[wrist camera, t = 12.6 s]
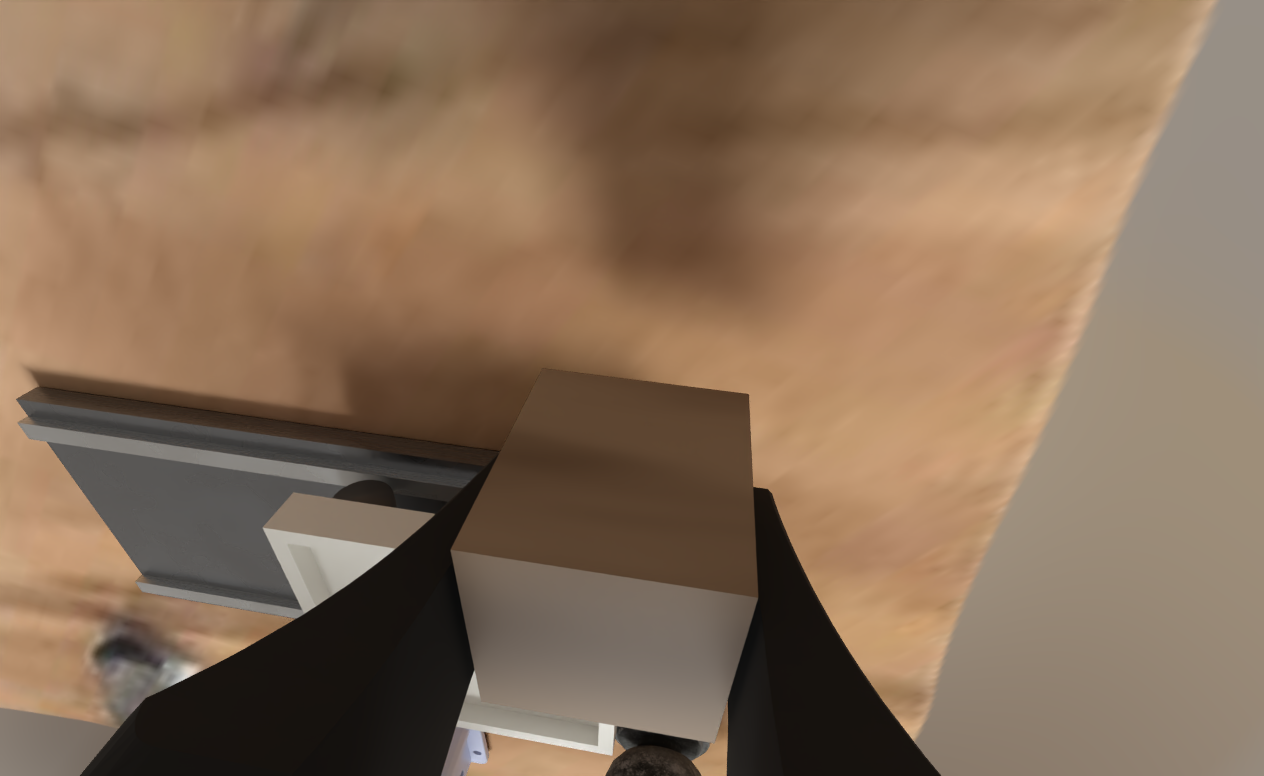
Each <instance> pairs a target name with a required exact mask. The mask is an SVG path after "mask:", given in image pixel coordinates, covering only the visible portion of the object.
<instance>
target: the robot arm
mask: <svg viewBox="0 0 1264 776" xmlns="http://www.w3.org/2000/svg"><path fill="white" fill-rule="evenodd" d="M499 453H500V452H499ZM499 453H498V454H497V455H495V456H494V457H493V458H492V459H491V460H490V461H489V462H488V463H487V464H486V465H485V466H484V468H483V469H482V470H481V471H480V472H479V473H478V474H477V475H476V476H475V477H474V478H473V479H472V480H471V481H470V482H469V483H468V484H467V485H466V486H465V487H464V488H463V489H462V490H460V491H459V492H458V493H457V494H456V495H455V496H454V497H453V498H452V499H451V500H450V501H449V502H448V503H447V504H446V505H445V506H444V507H443V508H441V509H440V510H439V511H438V512H437V513H436V514H435V515H434V516H433V517H432V518H431V519H430V520H428V521H427V522H426V523H425V524H424V525H423V526H422V527H420V528H419V529H418V530H417V531H416V532H415V533H413V534H412V535H411V536H410V537H409V538H407V539H406V540H405V541H404V542H403V543H402V544H400V545H399V546H398V547H397V548H396V549H394V550H393V551H392V552H391V553H390V554H388V555H387V556H386V557H384V558H383V559H382V560H381V561H379V562H378V563H377V564H375V565H374V566H373V567H371V568H370V569H369V570H367V571H366V572H365V573H363V574H362V575H361V576H359V577H358V578H356V579H355V580H354V581H352V582H351V583H350V584H348V585H347V586H345V587H344V588H342V589H341V590H339V591H338V592H336V593H335V594H333V595H332V596H330V597H329V598H327V599H326V600H324V601H323V602H322V603H320V604H319V605H317V606H316V607H314V608H312V609H311V610H309V611H308V612H306V613H305V614H303V615H301V616H300V617H298V618H297V619H295V620H293V621H292V622H290V623H288V624H287V625H285V626H283V627H281V628H280V629H278V630H276V631H274V632H273V633H271V634H269V635H268V636H266V637H264V638H262V639H261V640H259V641H257V642H255V643H254V644H252V645H250V646H248V647H247V648H245V649H243V650H241V651H240V652H238V653H236V654H234V655H232V656H230V657H228V658H227V659H225V660H223V661H221V662H219V663H217V664H215V665H213V666H211V667H209V668H207V669H205V670H203V671H201V672H199V673H197V674H195V675H193V676H191V677H189V678H187V679H185V680H183V681H181V682H179V683H177V684H175V685H173V686H170V687H168V688H166V689H164V690H162V691H160V692H158V693H156V694H154V695H152V696H150V697H147V698H145V700H144V701H143V702H142V703H141V704H140V705H139V706H138V707H137V708H136V709H135V711H134V712H133V713H132V714H131V715H130V716H129V717H128V718H127V719H126V721H125V722H124V723H123V724H122V725H121V726H120V728H119V729H118V730H117V731H116V733H115V734H114V735H113V736H112V737H111V739H110V740H109V741H108V742H107V744H106V745H105V746H104V747H103V748H102V749H101V751H100V752H99V753H98V754H97V756H96V757H95V758H94V759H93V760H92V762H91V763H90V764H89V765H88V766H87V768H86V769H85V770H84V771H83V772H82V774H81V775H80V776H466V774H467V771H468V768H469V765H470V763H471V762H475V763H481V764H484V763H486V762H487V761H488V758H489V753H488V748H487V743H486V738H485V734H484V732H482V731H477V730H472V729H466V728H461V727H456V725H457V722H458V719H459V716H460V712H461V709H462V706H463V703H464V700H465V697H466V694H467V691H468V688H469V684H470V681H471V678H472V676H473V673H474V670H475V669H474V664H473V659H472V654H471V649H470V644H469V639H468V634H467V629H466V624H465V619H464V614H463V609H462V604H461V599H460V595H459V590H458V585H457V580H456V575H455V570H454V565H453V560H452V555H451V548H452V546H453V544H454V542H455V540H456V538H457V536H458V534H459V532H460V530H461V528H462V526H463V524H464V522H465V520H466V518H467V516H468V514H469V512H470V510H471V508H472V506H473V504H474V502H475V501H476V499H477V497H478V495H479V493H480V491H481V489H482V487H483V485H484V483H485V481H486V479H487V477H488V475H489V473H490V471H491V469H492V467H493V465H494V463H495V461H496V459H497V457H498V455H499ZM753 495H754V517H755V538H756V559H757V581H758V600H757V604H756V607H755V610H754V614H753V617H752V620H751V624H750V627H749V630H748V634H747V637H746V640H745V643H744V647H743V650H742V653H741V657H740V660H739V663H738V667H737V670H736V673H735V677H734V680H733V683H732V686H731V690H730V693H729V696H728V752H727V776H941V775H940V774H939V772H938V771H937V770H936V769H935V768H934V766H933V765H932V764H931V763H930V762H929V760H928V759H927V758H926V757H925V756H924V754H923V753H922V752H921V750H920V749H919V748H918V747H917V745H916V744H915V743H914V741H913V740H912V739H911V737H910V736H909V735H908V733H907V732H906V731H905V730H904V728H903V727H902V726H901V724H900V723H899V722H898V720H897V719H896V718H895V716H894V715H893V714H892V713H891V711H890V710H889V709H888V707H887V706H886V705H885V703H884V702H883V701H882V699H881V698H880V696H879V695H878V694H877V692H876V691H875V689H874V688H873V686H872V685H871V683H870V682H869V681H868V679H867V678H866V676H865V675H864V673H863V672H862V670H861V669H860V667H859V666H858V664H857V663H856V661H855V660H854V658H853V657H852V655H851V653H850V652H849V650H848V649H847V647H846V646H845V644H844V642H843V641H842V639H841V638H840V636H839V634H838V633H837V631H836V629H835V627H834V626H833V624H832V622H831V621H830V619H829V617H828V615H827V613H826V612H825V610H824V608H823V606H822V605H821V603H820V601H819V599H818V597H817V595H816V593H815V592H814V590H813V588H812V586H811V584H810V582H809V580H808V578H807V576H806V574H805V572H804V570H803V568H802V566H801V564H800V562H799V560H798V557H797V555H796V553H795V551H794V549H793V547H792V544H791V542H790V540H789V537H788V535H787V533H786V530H785V528H784V525H783V523H782V520H781V518H780V515H779V513H778V510H777V507H776V504H775V501H774V498H773V495H772V493H771V492H770V491H769V490H768V489H763V488H756V487H753Z"/></svg>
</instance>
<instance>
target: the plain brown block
mask: <svg viewBox="0 0 1264 776" xmlns="http://www.w3.org/2000/svg"><path fill="white" fill-rule="evenodd" d="M451 555H452V560H453V565H454V570H455V575H456V580H457V585H458V590H459V595H460V599H461V604H462V609H463V614H464V619H465V624H466V629H467V634H468V639H469V644H470V649H471V654H472V659H473V664H474V669H475V674H476V679H477V684H478V689H479V694H480V699H481V702H486V703H491V704H497V705H502V706H508V707H514V708H519V709H525V710H530V711H536V712H541V713H547V714H553V715H558V716H564V717H569V718H575V719H581V720H586V721H592V722H597V723H603V724H609V725H614V726H620V727H625V728H631V729H637V730H642V731H648V732H653V733H659V734H665V735H670V736H676V737H681V738H687V739H692V740H698V741H704V742H709V743H715V739H716V736H717V733H718V730H719V726H720V723H721V720H722V716H723V713H724V710H725V706H726V703H727V700H728V696H729V693H730V690H731V686H732V683H733V680H734V677H735V673H736V670H737V667H738V663H739V660H740V657H741V653H742V650H743V647H744V643H745V640H746V637H747V634H748V630H749V627H750V624H751V620H752V617H753V614H754V610H755V607H756V604H757V600H758V581H757V559H756V538H755V517H754V495H753V474H752V452H751V431H750V410H749V394H744V393H736V392H728V391H720V390H712V389H704V388H696V387H688V386H680V385H672V384H664V383H656V382H648V381H640V380H632V379H624V378H616V377H608V376H600V375H592V374H584V373H576V372H568V371H560V370H552V369H544V368H542V370H541V372H540V374H539V376H538V378H537V380H536V382H535V384H534V386H533V388H532V390H531V392H530V394H529V396H528V398H527V400H526V402H525V404H524V406H523V408H522V410H521V412H520V414H519V416H518V418H517V420H516V422H515V424H514V425H513V427H512V429H511V431H510V433H509V435H508V437H507V439H506V441H505V443H504V445H503V447H502V449H501V451H500V453H499V455H498V457H497V459H496V461H495V463H494V465H493V467H492V469H491V471H490V473H489V475H488V477H487V479H486V481H485V483H484V485H483V487H482V489H481V491H480V493H479V495H478V497H477V499H476V501H475V502H474V504H473V506H472V508H471V510H470V512H469V514H468V516H467V518H466V520H465V522H464V524H463V526H462V528H461V530H460V532H459V534H458V536H457V538H456V540H455V542H454V544H453V546H452V548H451Z"/></svg>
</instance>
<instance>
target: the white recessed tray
mask: <svg viewBox="0 0 1264 776" xmlns="http://www.w3.org/2000/svg"><path fill="white" fill-rule="evenodd" d="M434 515H435V514H433V513H426V512H420V511H413V510H406V509H400V508H397V504H396V500H395V497H394V493H393V490H392V488H391V487H390V486H389V485H388V484H387V483H385V482H382V481H379V480H363V481H358V482H355V483H352V484H350V485H348V486H346V487H344V488H342V489H341V490H340V491H338V492H337V493H336V494H335V495H334V496H333V497H332V498H327V497H321V496H314V495H308V494H301V493H295V492H293V493H292V495H291V496H290V497H289V498H288V499H287V500H286V501H285V503H284V504H283V505H282V506H281V507H280V508H279V509H278V510H277V512H276V513H275V514H274V515H273V516H272V517H271V518H270V520H269V521H268V522H267V523H266V524H265V525H264V526H263V530H264V532H265V534H266V536H267V538H268V540H269V542H270V544H271V546H272V548H273V550H274V552H275V555H276V557H277V559H278V561H279V563H280V565H281V567H282V569H283V571H284V573H285V575H286V577H287V579H288V581H289V583H290V585H291V587H292V590H293V592H294V594H295V596H296V598H297V600H298V602H299V604H300V606H301V608H302V610H303V612H304V614H305V613H306V612H308V611H309V610H311V609H312V608H314V607H316V606H317V605H319V604H320V603H322V602H323V601H324V600H326V599H327V598H329V597H330V596H332V595H333V594H335V593H336V592H338V591H339V590H341V589H342V588H344V587H345V586H347V585H348V584H350V583H351V582H352V581H354V580H355V579H356V578H358V577H359V576H361V575H362V574H363V573H365V572H366V571H367V570H369V569H370V568H371V567H373V566H374V565H375V564H377V563H378V562H379V561H381V560H382V559H383V558H384V557H386V556H387V555H388V554H390V553H391V552H392V551H393V550H394V549H396V548H397V547H398V546H399V545H400V544H402V543H403V542H404V541H405V540H406V539H407V538H409V537H410V536H411V535H412V534H413V533H415V532H416V531H417V530H418V529H419V528H420V527H422V526H423V525H424V524H425V523H426V522H427V521H428V520H430V519H431V518H432V517H433V516H434ZM456 727H461V728H466V729H472V730H477V731H482V732H488V733H493V734H499V735H504V736H509V737H515V738H520V739H526V740H531V741H536V742H542V743H547V744H552V745H558V746H563V747H569V748H574V749H579V750H585V751H590V752H596V753H601V754H606V755H613V748H614V742H615V736H616V729H617V726H614V725H609V724H603V723H597V722H592V721H586V720H581V719H575V718H569V717H564V716H558V715H553V714H547V713H541V712H536V711H530V710H525V709H519V708H514V707H508V706H502V705H497V704H491V703H486V702H481V699H480V694H479V689H478V684H477V679H476V674H475V670H474V673H473V676H472V678H471V681H470V684H469V688H468V691H467V694H466V697H465V700H464V703H463V706H462V709H461V712H460V716H459V719H458V722H457V725H456Z"/></svg>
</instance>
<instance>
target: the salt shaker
mask: <svg viewBox="0 0 1264 776" xmlns="http://www.w3.org/2000/svg"><path fill="white" fill-rule="evenodd" d="M615 739H616V740H617V742H618V743H620V744H621V745H622V746H623V748H624V749H626V751H625V752H623V753H622V754H621V755H620V756H618V757H617V758H616V759H615V760H614V761H613V762H612V764H611V766H610V768H609V770H608V772H607V773H606V775H605V776H701V774H700V772H699V771H698V769H697V768H696V767H695V765H694V764H693V763H692V760H694V759H695V758H697V757H699V756H701V755H702V754H704V753H705V752H706V751H707V749H708V748H709V745H710V743H709V742H704V741H698V740H692V739H687V738H681V737H676V736H670V735H665V734H659V733H653V732H648V731H642V730H637V729H631V728H625V727H620V726H617V729H616V736H615Z"/></svg>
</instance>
